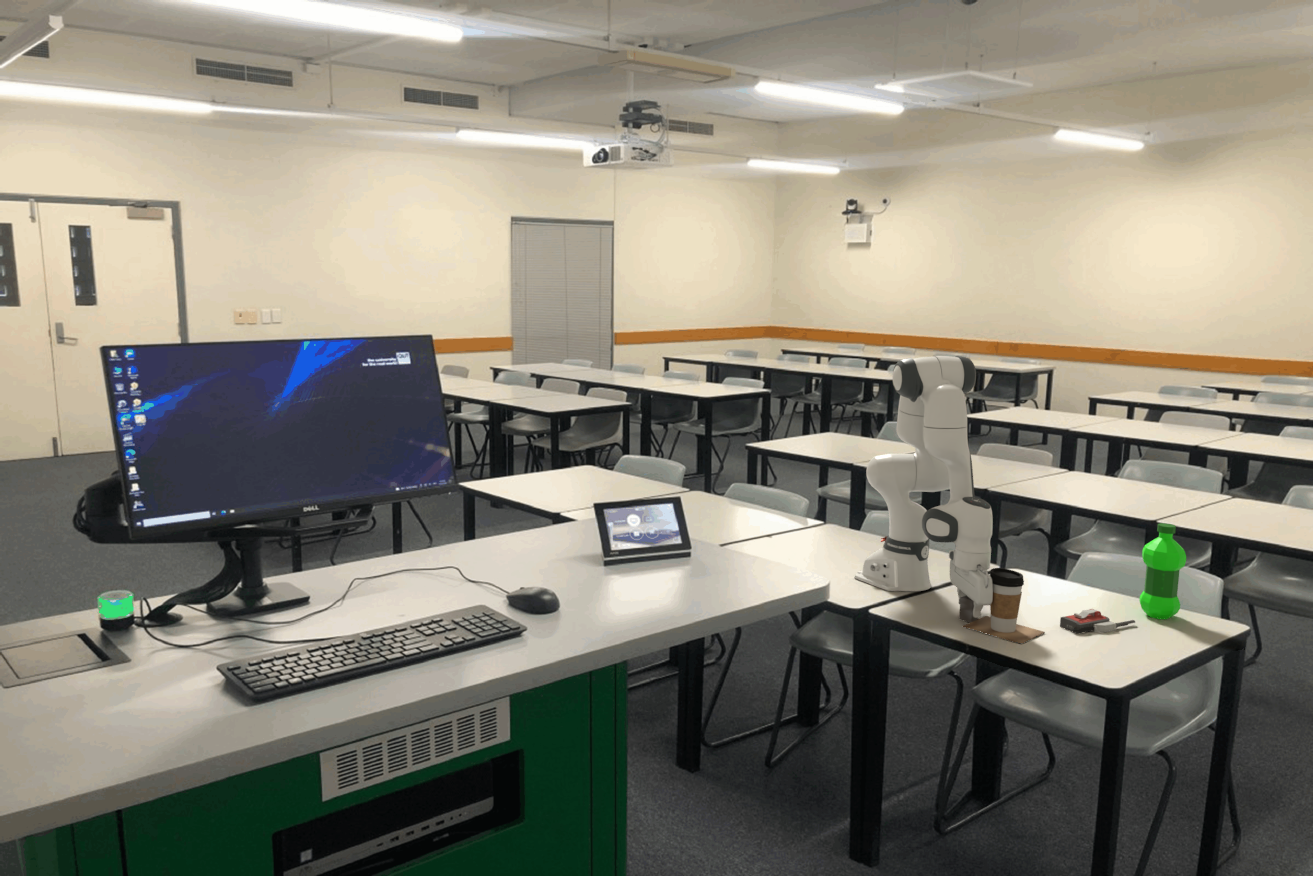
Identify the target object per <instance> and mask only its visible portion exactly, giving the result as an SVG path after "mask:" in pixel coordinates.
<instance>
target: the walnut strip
mask: <svg viewBox="0 0 1313 876" xmlns="http://www.w3.org/2000/svg"><path fill="white" fill-rule="evenodd" d="M972 609H974V601H973V600H971V599H970V598H969V597H968V596H967V595H965V596H963V597H960V604H959V615H958V620H959V619H960V621H963V620H964V621H963V622H966V621H967V623H966V624H964V625H962V626H963V627H962V628H964V627H966V628H965V629H968V628H970V629H969V630H971V629H974V630H977V631H976V632H978V631H981V632H983V633H982V634H985V633H987V634H986V635H988V634H990V635H989V636H991V635H993V636H992V637H995V636H997V637H996V638H998V637H999V638H998V639H1002V640H1005V639H1006V641H1008V640H1009V642H1012V641H1013V643H1015V642H1018V643H1017V644H1019V643H1023V644H1025V643H1027V642H1029V641H1031V640H1033V639H1035V638H1037V637H1039V636H1041V634H1042V635H1043V634H1045V633H1046V632H1045V631H1043V630H1039V629H1036V628H1033V627H1029V626H1025V625H1021V624H1019V623H1018V624H1017V623H1016V629H1015V631H1014V632H1011V633H1004V632H998V631H995V630H993V629H992V628H991V615H990V616H989V615H984V616H982V617H979V618H975V617H973V616H972ZM974 630H973V631H974ZM981 632H980V633H981ZM1036 636H1037V637H1036ZM1028 640H1029V641H1028ZM1026 641H1027V642H1026ZM1024 642H1025V643H1024Z"/></svg>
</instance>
